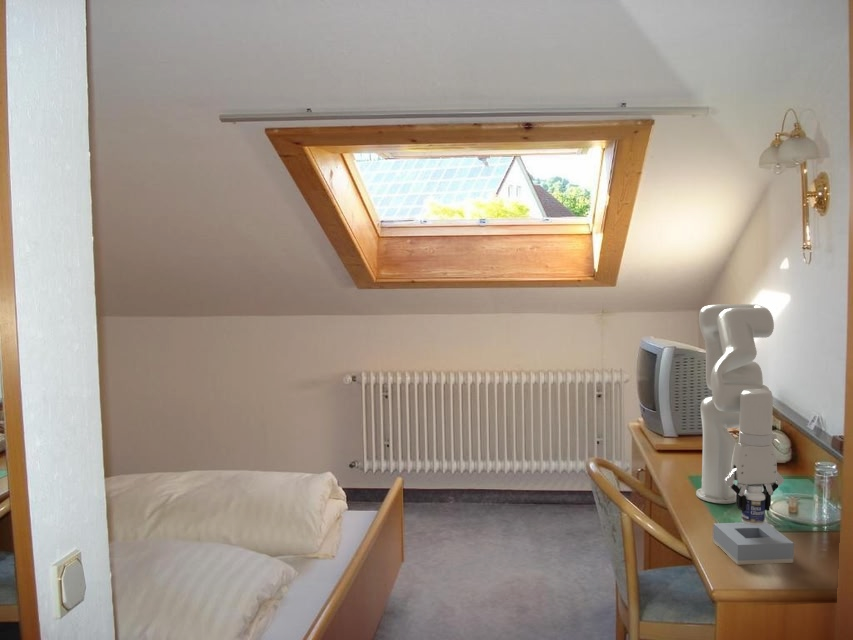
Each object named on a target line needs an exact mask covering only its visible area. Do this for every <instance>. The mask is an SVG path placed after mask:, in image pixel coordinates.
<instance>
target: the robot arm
mask: <svg viewBox="0 0 853 640" xmlns="http://www.w3.org/2000/svg"><path fill="white" fill-rule="evenodd" d="M698 324H699V329H700V333H701V335H702V338H703V340H704V345H705V381H706V386H707V388H708V389H709V390H711V394H712V395H711V396H707V397H705V398H704V399H702V401H701V402H700V409H699V410H700V418H701V426H702V457H701V459H702V462H701V463H702V464H701V487H700V488H698V489H696V490H695V491H696V492H695V493H696V494H695V495H696V497H697V498H699V499H700V500H701V501H705V502H709V503H714V504H723V505H724V504H725V505H726V504H734V503H735V504H736V507H737V509H739V510H740V511H741V512H742V511H746V496H744V493H745V491H746V487H747V485H760V484H762V485H763V491H762V493H763V494H764V495H765V512H766V511H767V512H768V511H770V508H771V506H772V505H771V503H772V496H773V495H774V492H775V491H776V490H777V489H778V488H779V486H781V485H782V484H783V483H784V482H785V479H784V478H783V476H782V475H781V474H780V473H779V471H778V466H777V465H778V464H777V455H776V450H775V446H774V444H773V441H774V440H777V439H778V438H777V437H778V436H777V434H776V433H773V411H774V410H773V408H774V405H773V404H774V397H773V393H772V391H771V390H770V389H769V387H768V386H767V385H765V384H763V382H764V381H763V379H764V378H763V372H762V369H761V366H760V365H759V364H758V362H755V361H754V360H755V359H756V357H757V355H758V354H757V352H758V351H757V348H756V343H755V338H756V339H757V338H759V339H760V338H761V339H764V338H769V337H770V336H772V334H773V332H774V330H775V328H774V327H775V322H774V317H773V315H772V313H771V311H770V310H769V309H768V308H767V307H765V306H763V305H762V306H761V305H759V304H750V303H749V304H738V303H737V304H732V303H728V304H727V303H723V304H722V303H720V304H710V305H705V306H703V307H702V308H701V309H700V310H699V314H698ZM732 428H733V429H738V442H736V439H735V437H734V436H733V435H732V434H731V433H730V432H729V431H728V429H732ZM736 481H737V482H736Z"/></svg>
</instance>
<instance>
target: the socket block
mask: <svg viewBox="0 0 853 640" xmlns="http://www.w3.org/2000/svg"><path fill="white" fill-rule="evenodd" d="M712 543H714V545H715V546H716V547H718V546H719V547H720V548H721V549H722V550H723V551H724V552H725V553H726V554H727V555H726V554H725V553H724V552H723V551H722V550H721V549H720V548H719V547H718V548H719V549H720V550H721V551H722V552H723V553H724V554H725V555H726V556H727V557H729V559H731V560H732V561H733V562H734V563H735V564H736V565H737V566H738V565H739V566H740V565H741V566H742V565H767V564H771V565H772V564H790V563H791V564H793V563H794V556H795V555H794V554H795V553H794V550H795V549H794V548H795V542H793V541H792V540H790V539H789V538H788V537H787V536H785V535H784V534H783V533H781V532H780V531H778V530H777V529H776V528H775V527H773V526H772V525H770V524H769V523H768V522H767V521H765V522H764V524H762V525H750V524H746V523H744V522H743V521H742V522H722V523H721V522H720V523H719V522H717V523H716V522H715V523H713V526H712Z"/></svg>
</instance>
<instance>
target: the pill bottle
mask: <svg viewBox="0 0 853 640" xmlns="http://www.w3.org/2000/svg"><path fill="white" fill-rule="evenodd" d="M762 492H763V485H762V484H760V485H747V487H746V490H745V493H744V496H746V511H741V522H742V523H743V522H744V523H746V524H750V525H762V524H764V522H766V519H765V517H766V510H765V495H764V494H763V493H762Z"/></svg>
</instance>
